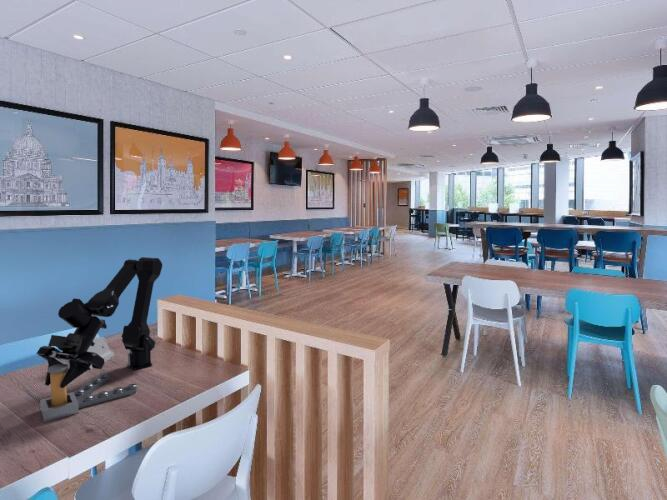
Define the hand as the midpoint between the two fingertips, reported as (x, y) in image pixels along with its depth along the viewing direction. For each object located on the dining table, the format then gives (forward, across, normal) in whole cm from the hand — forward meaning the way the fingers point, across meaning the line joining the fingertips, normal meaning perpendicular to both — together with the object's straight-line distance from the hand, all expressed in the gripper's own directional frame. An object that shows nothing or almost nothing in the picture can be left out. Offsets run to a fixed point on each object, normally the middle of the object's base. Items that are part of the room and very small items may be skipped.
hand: (53, 386), depth 113 cm
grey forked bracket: (-2, 0, +14) cm, 14 cm away
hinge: (-16, -18, +28) cm, 37 cm away
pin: (+5, 0, +7) cm, 8 cm away
